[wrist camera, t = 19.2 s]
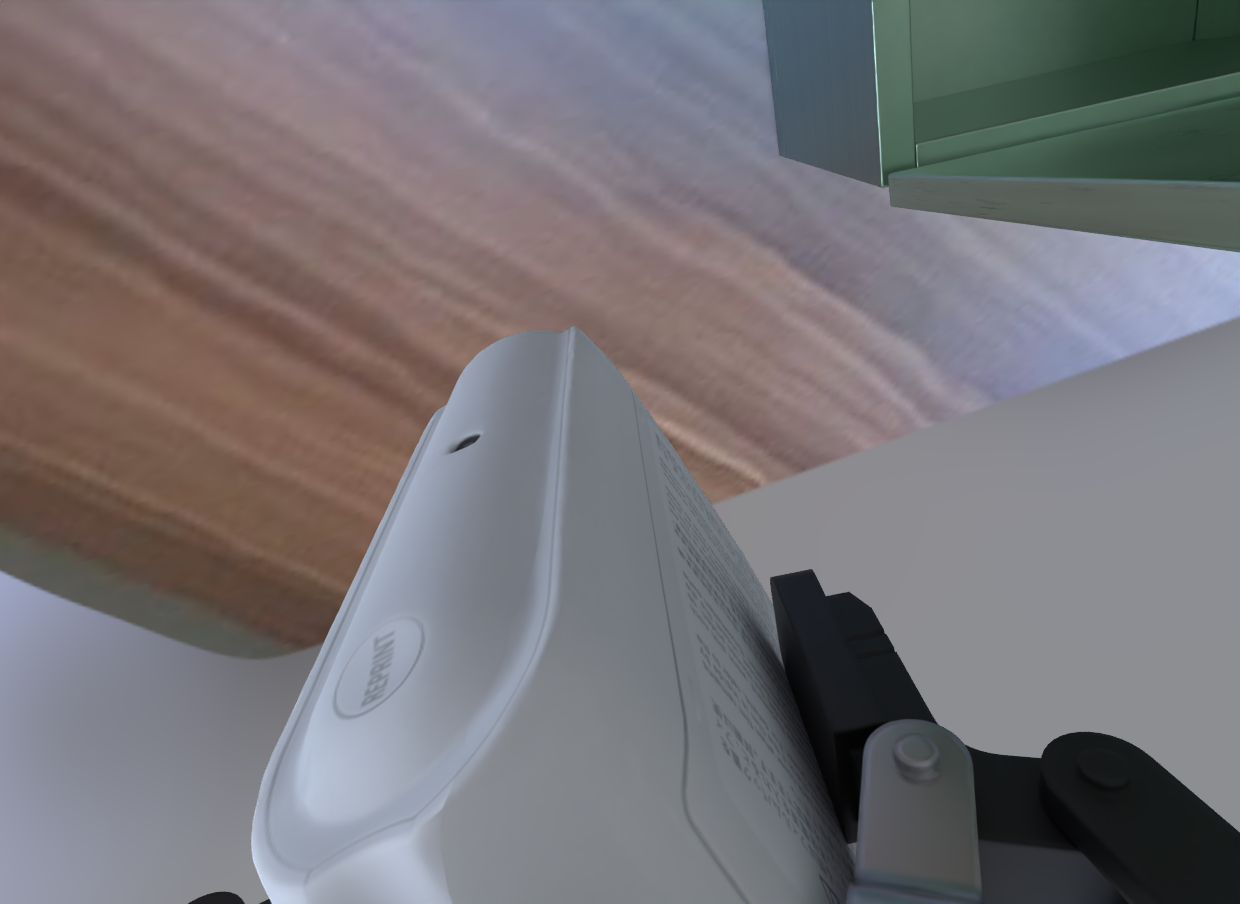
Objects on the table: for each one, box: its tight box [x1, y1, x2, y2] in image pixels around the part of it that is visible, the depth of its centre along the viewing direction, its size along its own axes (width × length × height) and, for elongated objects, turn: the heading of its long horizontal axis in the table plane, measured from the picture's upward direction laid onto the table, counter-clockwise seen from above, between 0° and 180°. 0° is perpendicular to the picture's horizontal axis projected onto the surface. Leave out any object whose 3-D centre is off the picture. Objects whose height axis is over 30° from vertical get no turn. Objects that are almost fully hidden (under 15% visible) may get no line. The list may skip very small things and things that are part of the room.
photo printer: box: [251, 326, 857, 904], centre depth 12 cm, size 10×4×12 cm, turn 32°
